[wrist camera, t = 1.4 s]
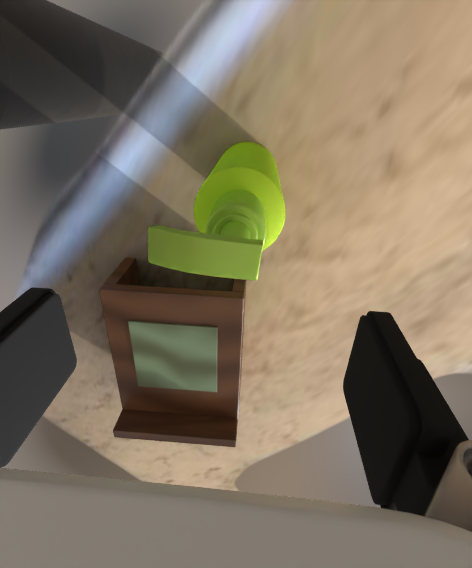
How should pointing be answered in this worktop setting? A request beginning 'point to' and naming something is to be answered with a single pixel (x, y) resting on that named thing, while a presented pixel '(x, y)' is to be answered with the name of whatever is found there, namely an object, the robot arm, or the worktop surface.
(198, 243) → the soap dispenser
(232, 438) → the wooden picture frame
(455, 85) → the worktop surface
